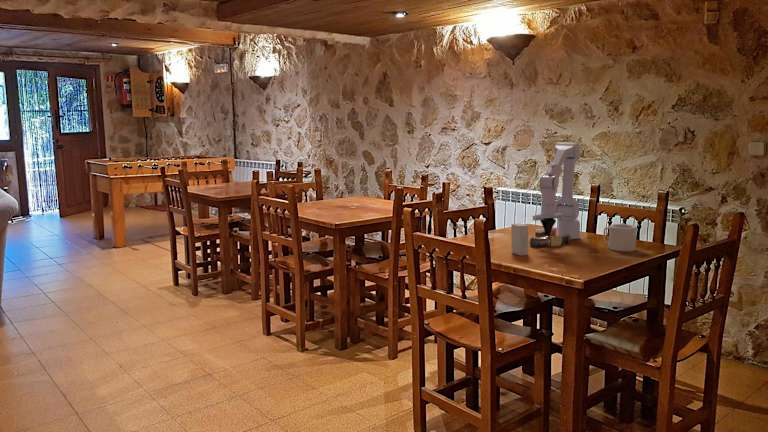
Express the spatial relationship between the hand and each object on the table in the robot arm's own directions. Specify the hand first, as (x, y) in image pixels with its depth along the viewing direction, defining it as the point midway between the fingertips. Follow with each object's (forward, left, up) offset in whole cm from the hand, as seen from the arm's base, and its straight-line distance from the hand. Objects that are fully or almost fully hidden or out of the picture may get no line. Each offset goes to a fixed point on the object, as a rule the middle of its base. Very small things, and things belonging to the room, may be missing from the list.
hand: (547, 235), depth 259 cm
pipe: (-5, -4, -5) cm, 8 cm away
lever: (-1, -3, 0) cm, 3 cm away
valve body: (-6, -4, -5) cm, 9 cm away
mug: (-27, +13, -6) cm, 30 cm away
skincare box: (+17, +5, -5) cm, 19 cm away
